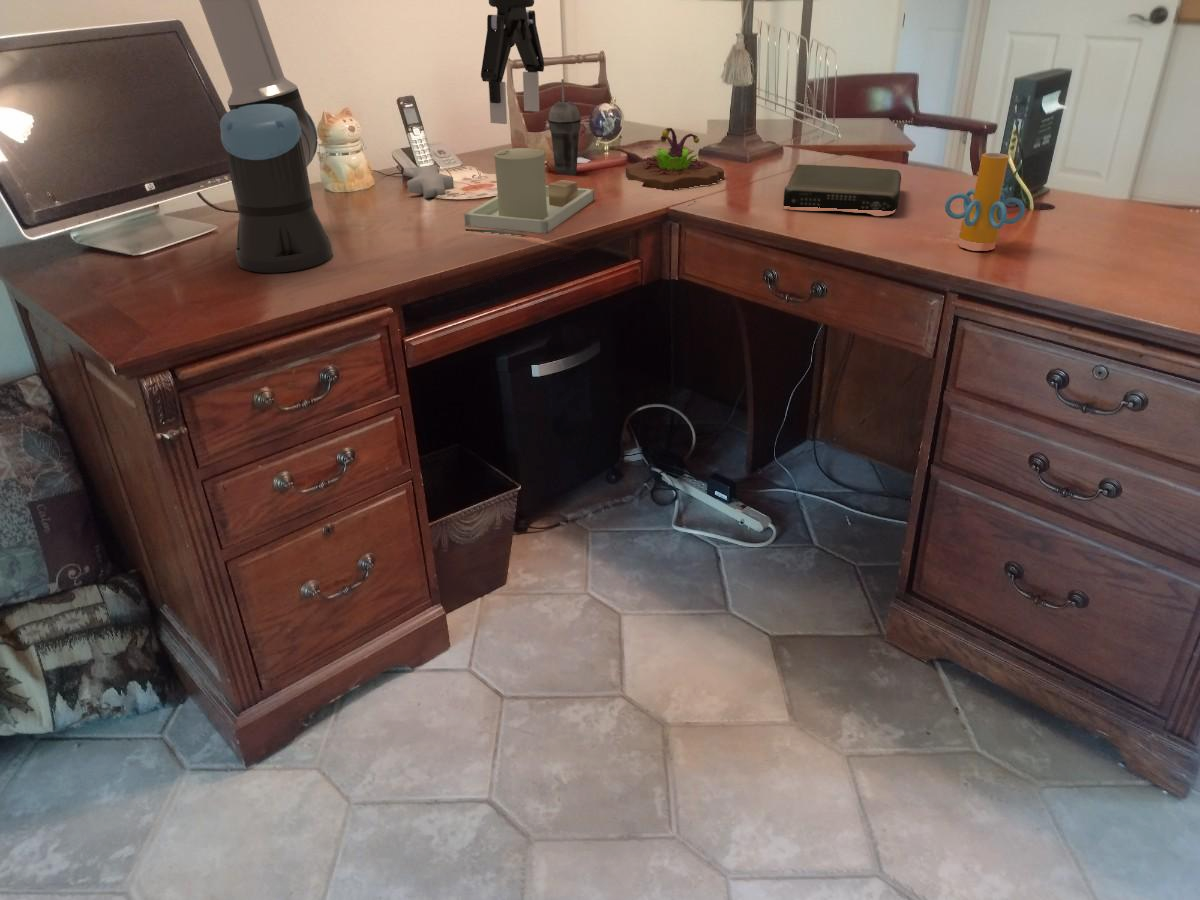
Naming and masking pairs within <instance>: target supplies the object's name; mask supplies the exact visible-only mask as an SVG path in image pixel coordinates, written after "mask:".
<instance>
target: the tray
mask: <svg viewBox="0 0 1200 900" xmlns="http://www.w3.org/2000/svg"><path fill="white" fill-rule="evenodd" d="M593 201H595V189H594V188H582V187H581V188H580V187H578V197H577V198H575V199H574V200H572V201H571V202H569V203H568V204H566V205H564V206H563V207H558V206H553V205H549V186H548V185H546V204H547V213H548V217H546V218H545V219H543V220H539V219H528V218H517V217H507V216H499V208H498V195H496V196H495V197H493V198H491V199H489V200H488V201H486V202H484V203H482V204H480V205H478V206H476V207H474V208H473V209H471V210H468V211H467V212H465V213H464V214H463V217H464V226H466V227H467V226H468V227H477V228H479V229H473V228H465V231H466V232H474V231H477V233H484V232H491V233H490V234H494V233H499V234H498V235H504V234H511V235H510V236H514V235H521V236H520V237H524V236H528V235H526V234H522V233H521V234H520V233H517V232H518V231H519V232H526V233H527V232H528V233H529V232H530V233H538V234H547V233H550V232H551V231H553V229H555V228H556V227H557V226H559V225H561V224H562V223H563V222H565V221H566V220H568V219H569V218H571V217H572V216H573V215H575V214H576V213H577V212H579V211H580V210H582V209H584V207H586V206H588V205H589V204H591V203H592V202H593ZM480 228H488V229H480ZM507 230H509V231H507ZM478 231H479V232H478ZM513 231H517V232H513Z"/></svg>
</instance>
